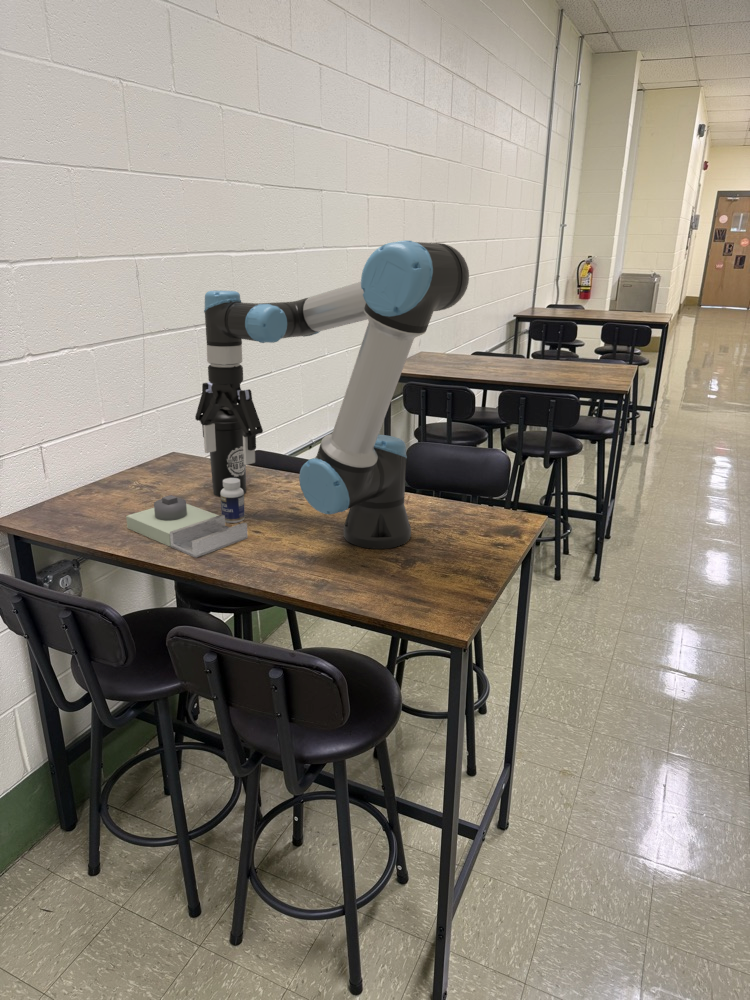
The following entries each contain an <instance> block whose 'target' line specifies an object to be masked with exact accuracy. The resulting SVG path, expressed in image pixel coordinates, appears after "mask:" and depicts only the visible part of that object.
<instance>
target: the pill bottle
mask: <svg viewBox="0 0 750 1000" xmlns="http://www.w3.org/2000/svg"><path fill="white" fill-rule="evenodd" d="M223 487H224V488H223V489H222V490H221V492H220V496H221V497H220V512H221V513H220V515H225V523H228V524H236V523H240V522H243V521H244V520H245V518H246V516H245V515H246V513H245V494H244V491H243V489H242V488H240V479H238V478H227V479H224V480H223Z"/></svg>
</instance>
